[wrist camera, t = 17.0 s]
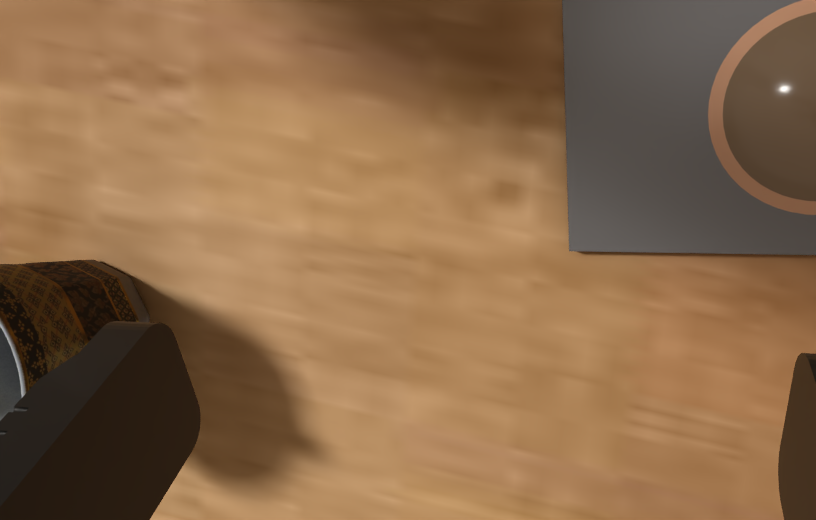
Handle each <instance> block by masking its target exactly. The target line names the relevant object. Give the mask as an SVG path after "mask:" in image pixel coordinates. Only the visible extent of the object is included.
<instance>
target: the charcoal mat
mask: <svg viewBox="0 0 816 520" xmlns="http://www.w3.org/2000/svg"><path fill="white" fill-rule="evenodd" d="M798 1H802V0H562V7H563V43H564V78H565V114H566V150H567V185H568V221H569V251H594V252H656V253H718V254H780V255H816V215H806V214H800V213H794V212H789V211H785V210H782V209H779V208H776V207H773V206H771V205H769V204H766V203H764V202H762V201H760V200H759V199H757V198H755V197H754V196H752V195H750V194H749V193H748V192H746V191H745V190H744V189H743V188H741V187H740V186H739V185H738V184H737V183H736V182H735V181H734V180H733V179H732V178H731V177H730V175H729V174H728V173H727V171H726V170H725V168H724V167H723V166H722V164H721V162H720V160H719V158H718V156H717V155H716V152H715V149H714V147H713V144H712V141H711V136H710V131H709V122H708V108H709V99H710V94H711V89H712V86H713V83H714V80H715V77H716V74H717V72H718V70H719V68H720V66H721V64H722V62H723V61H724V59H725V58H726V56H727V55H728V53H729V52H730V50H731V49H732V47H733V46H734V45H735V44H736V43H737V42H738V40H739V39H740V38H741V37H742V36H743V35H744V34H745V33H746V32H747V31H748V30H750V29H751V28H752V27H753V26H754V25H756V24H757V23H758V22H760V21H761V20H762V19H764V18H765V17H767V16H768V15H770V14H772V13H774V12H775V11H777V10H779V9H781V8H783V7H786V6H788V5H790V4H793V3H795V2H798Z"/></svg>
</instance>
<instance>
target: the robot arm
mask: <svg viewBox="0 0 816 520" xmlns="http://www.w3.org/2000/svg"><path fill="white" fill-rule="evenodd" d="M199 429H200V408H199V404H198V401H197V398H196V395H195V392H194V389H193V387H192V384H191V381H190V378H189V375H188V372H187V370H186V367H185V364H184V361H183V358H182V355H181V353H180V350H179V347H178V344H177V341H176V338H175V336H174V334H173V332H172V330H171V329H170V328H169V327H168V326H167V325H165V324H163V323H148V322H125V321H112V322H109V323H107V324H106V325H104V326H103V327H102V328H101V329H100V330H99V331H98V333H97V334H96V335H95V336H94V337H93V338H92V339H91V340H90V341H89V342H88V344H87V345H86V346H85V347H84V348H83V349H82V350H81V351H80V352H79V353H78V355H74V356H73V357H71V358H70V359H68V360H67V361H65V362H64V363H62V364H61V365H59V366H58V367H56V368H55V369H53V370H52V371H50V372H49V373H47V374H46V375H44V376H43V377H41V378H40V379H39V380H38V381H37V382H36V383H35V384H34V385H33V386H32V387H31V389H30V390H29V391H28V392H27V393H26V394H25V395H24V396H23V397H22V398H21V399H20V400H19V401H18V402H17V403H16V405H15V406H14V411H13V412H8V413H7V414H6V415H5V416H4V417H3V418H2V420H1V421H0V520H150V518H151V516H152V515H153V513H154V512H155V510H156V508H157V507H158V505H159V503H160V502H161V500H162V499H163V497H164V495H165V494H166V492H167V491H168V489H169V487H170V486H171V484H172V482H173V481H174V479H175V478H176V476H177V474H178V473H179V471H180V470H181V468H182V466H183V465H184V463H185V461H186V460H187V458H188V457H189V455H190V453H191V452H192V450H193V448H194V446H195V444H196V441H197V438H198V434H199ZM778 476H779V492H780V500H781V506H782V510H783V515H784V520H816V354H809V353H801V354H800V355H799V356H798V358H797V360H796V364H795V368H794V373H793V379H792V384H791V390H790V395H789V401H788V406H787V412H786V417H785V423H784V428H783V434H782V439H781V445H780V451H779V465H778Z"/></svg>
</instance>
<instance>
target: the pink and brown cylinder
mask: <svg viewBox="0 0 816 520" xmlns="http://www.w3.org/2000/svg"><path fill="white" fill-rule="evenodd" d="M708 122H709V131H710V136H711V141H712V144H713V147H714V149H715V152H716V155H717V156H718V158H719V160H720V162H721V164H722V166H723V167H724V168H725V170H726V171H727V173H728V174H729V175H730V177H731V178H732V179H733V180H734V181H735V182H736V183H737V184H738V185H739V186H740V187H741V188H743V189H744V190H745V191H746V192H748V193H749V194H750V195H752V196H754V197H755V198H757V199H759V200H760V201H762V202H764V203H766V204H769V205H771V206H773V207H776V208H779V209H782V210H785V211H789V212H794V213H800V214H806V215H816V0H802V1H798V2H795V3H793V4H790V5H788V6H786V7H783V8H781V9H779V10H777V11H775V12H774V13H772V14H770V15H768V16H767V17H765V18H764V19H762V20H761V21H760V22H758V23H757V24H756V25H754V26H753V27H752V28H751V29H750V30H748V31H747V32H746V33H745V34H744V35H743V36H742V37H741V38H740V39H739V40H738V42H737V43H736V44H735V45H734V46H733V47H732V49H731V50H730V52H729V53H728V55H727V56H726V58H725V59H724V61H723V62H722V64H721V66H720V68H719V70H718V72H717V74H716V77H715V80H714V83H713V86H712V89H711V94H710V99H709V108H708Z"/></svg>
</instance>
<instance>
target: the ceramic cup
mask: <svg viewBox="0 0 816 520" xmlns="http://www.w3.org/2000/svg"><path fill="white" fill-rule="evenodd" d="M149 319H150V317H149V314H148V312H147V310H146V308H145V306H144V304H143V302H142V300H141V298H140V296H139V294H138V292H137V290H136V288H135V286H134V284H133V282H132V280H131V278H130V277H129V276H127V275H125V274H123V273H121V272H119V271H117V270H115V269H113V268H111V267H109V266H107V265H105V264H103V263H101V262H98V261H96V260H75V261H59V262H40V263H26V264H0V421H1V420H2V418H3V417H4V416H5V415H6V414H7V413H8V412H13V411H14V406H15V405H16V403H17V402H18V401H19V400H20V399H21V398H22V397H23V396H24V395H25V394H26V393H27V392H28V391H29V390H30V389H31V387H32V386H33V385H34V384H35V383H36V382H37V381H38V380H39V379H40V378H41V377H43V376H44V375H46V374H47V373H49V372H50V371H52V370H53V369H55V368H56V367H58V366H59V365H61V364H62V363H64V362H65V361H67V360H68V359H70V358H71V357H73V356H74V355H78V353H79V352H80V351H81V350H82V349H83V348H84V347H85V346H86V345H87V344H88V342H89V341H90V340H91V339H92V338H93V337H94V336H95V335H96V334H97V333H98V331H99V330H100V329H101V328H102V327H103V326H104V325H106V324H107V323H109V322H112V321H125V322H148V323H149Z"/></svg>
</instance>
